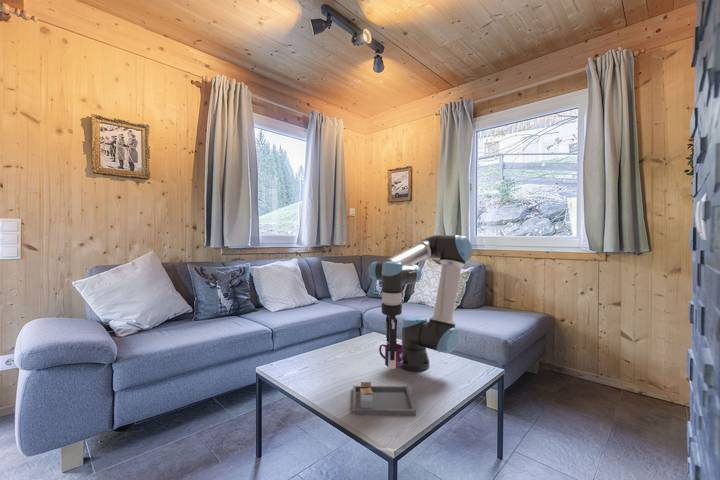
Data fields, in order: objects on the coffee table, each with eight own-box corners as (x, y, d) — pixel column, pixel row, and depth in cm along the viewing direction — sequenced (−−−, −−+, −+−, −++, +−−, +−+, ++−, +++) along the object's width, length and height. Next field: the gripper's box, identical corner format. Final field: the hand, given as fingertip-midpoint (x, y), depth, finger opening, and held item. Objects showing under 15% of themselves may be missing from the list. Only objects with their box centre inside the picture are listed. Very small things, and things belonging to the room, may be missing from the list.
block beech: (370, 398, 125) (370, 387, 125) (372, 403, 122) (372, 393, 121) (360, 399, 125) (360, 388, 125) (362, 404, 121) (362, 393, 121)
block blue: (372, 406, 120) (372, 395, 120) (371, 412, 116) (371, 401, 116) (361, 405, 120) (362, 394, 120) (360, 411, 116) (360, 400, 116)
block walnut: (370, 392, 130) (370, 382, 130) (371, 397, 126) (371, 387, 126) (360, 392, 130) (360, 382, 130) (360, 397, 126) (360, 386, 126)
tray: (407, 391, 132) (407, 385, 132) (415, 416, 114) (415, 410, 114) (353, 390, 132) (353, 385, 132) (352, 416, 114) (352, 410, 114)
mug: (395, 369, 118) (395, 351, 118) (374, 361, 125) (375, 343, 125) (406, 364, 123) (406, 346, 122) (386, 356, 130) (386, 339, 130)
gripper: (379, 297, 132) (379, 353, 133) (383, 309, 112) (382, 375, 113) (398, 297, 132) (397, 353, 133) (405, 309, 112) (404, 375, 113)
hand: (390, 363), depth 123 cm, fingers closed on mug, 7 cm apart
